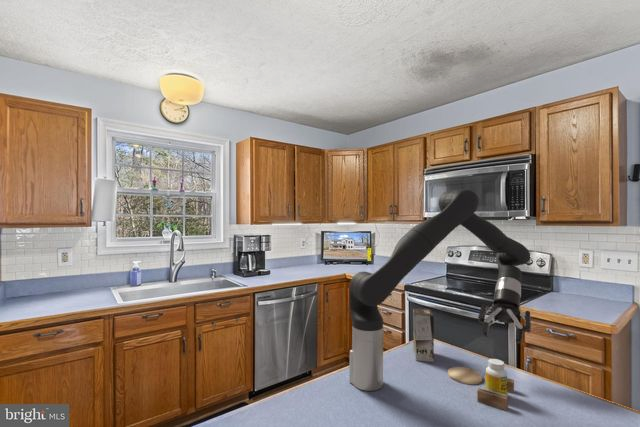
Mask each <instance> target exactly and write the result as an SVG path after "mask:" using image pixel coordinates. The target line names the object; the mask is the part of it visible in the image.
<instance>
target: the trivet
mask: <svg viewBox="0 0 640 427" xmlns="http://www.w3.org/2000/svg"><path fill="white" fill-rule="evenodd" d="M447 375H448V377H449V378H450V379H452V380H453V381H455V382H457V383H461V384H464V385H478V384H481V383H482V382H483V375H482V374H481V373H480V372H479V371H477V370H475V369H472V368H470V367H469V368H468V367H463V366H453V367H451V368H450V367H449V369H448V370H447Z"/></svg>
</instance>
